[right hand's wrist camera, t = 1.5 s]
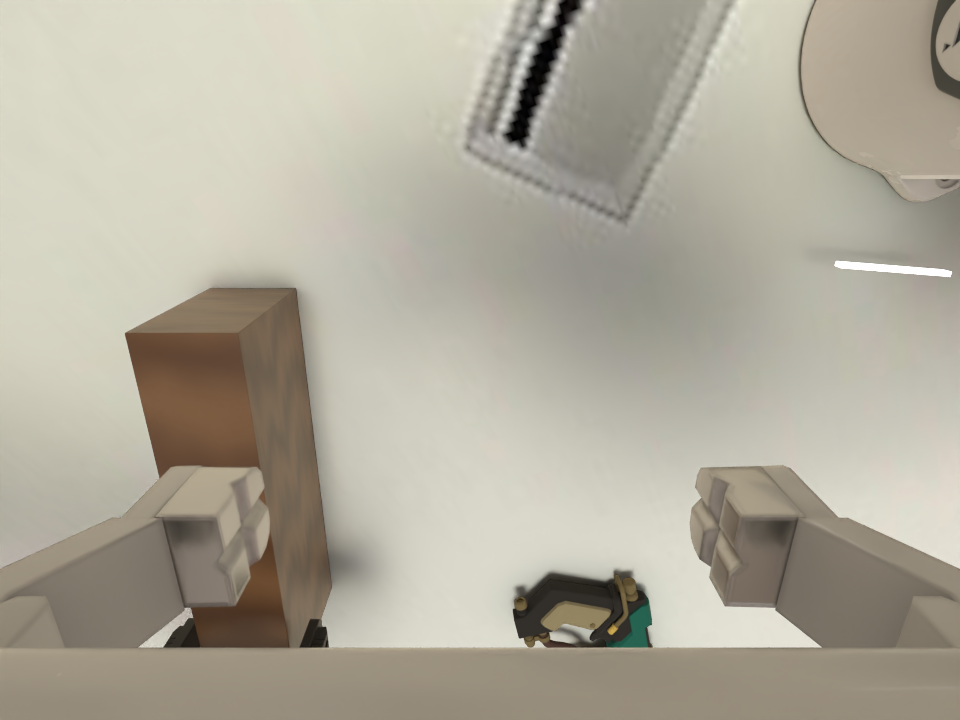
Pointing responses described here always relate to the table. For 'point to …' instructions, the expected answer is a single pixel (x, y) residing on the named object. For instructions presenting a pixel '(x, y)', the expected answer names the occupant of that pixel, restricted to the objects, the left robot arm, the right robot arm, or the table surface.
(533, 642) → the spray gun
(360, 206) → the table surface
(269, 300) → the box
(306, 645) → the left robot arm
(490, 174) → the table surface
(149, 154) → the table surface
